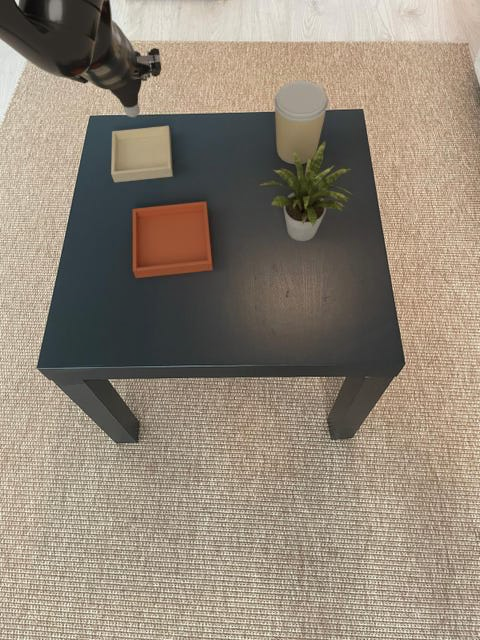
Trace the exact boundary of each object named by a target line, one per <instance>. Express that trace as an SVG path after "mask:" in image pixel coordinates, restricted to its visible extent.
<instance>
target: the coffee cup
mask: <svg viewBox="0 0 480 640" xmlns="http://www.w3.org/2000/svg"><path fill="white" fill-rule="evenodd" d="M273 99H274V100H273V103H274V104H273V105H274V114H275V115H274V118H275V119H274V120H275V141H276V152H277V155H278V158H280V159H281V160H282V161H283V162H285V163H288V164H289V165H290V164H292V165H295V161H294V155H293V152H292V149H293V150H294V152H295V153H296V154H297V155H298V157H299V159H300V161H301V164H302V165H303V164H304V165H305V164H307V163H308V160H309V158H310V156H311V160H313V158H314V156H315V153H316V152H317V150H318V148H319V144H320V138H321V134H322V130H323V125H324V121H325V117H326V112H327V109H328V106H329V98H328V95H327V92H326V91H325V89H324V88H323V87H322V86H321V85H319V84H318V83H316V82H313V81H310V80H305V79H303V80H302V79H298V80H293V81H290V82H289V81H288V82H287V83H285V84H283V85H282V86H281V87H280V88H279V89H278V90H277V92H276V94H275V96H274V98H273Z"/></svg>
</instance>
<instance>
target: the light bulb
mask: <svg viewBox="0 0 480 640" xmlns="http://www.w3.org/2000/svg"><path fill="white" fill-rule="evenodd" d="M142 82H143V81H142V80H141V78H140V79H134V80H133V79H130V80H129V81H128V82H127V83H126V84H125V85H124V86H122V87H120V88H118V89H113V90H109V91H110V93H111V94H112V95H114V96H115V97H116V98H117V99H118V100H119V102H120V104H121V105H122V108H123V111H124V113H125V115H126V116H127V117H130V118H136V117H137V116H139V114H140V105H139V94H140V90H141V87H142Z"/></svg>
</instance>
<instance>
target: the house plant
mask: <svg viewBox="0 0 480 640" xmlns="http://www.w3.org/2000/svg"><path fill="white" fill-rule="evenodd" d="M326 141H327V140H324V141H323V142H322V143H321V144H320V145H319V146H318V147H317V151H316V153H315V156H314V157H313V159H311V156H310V158H309V160H308V162H306V167H305V171H304V168H303V164H301V161H300V159H299V157H298V155H297V154H296V153H295V152H294V150H293V149H292V152H293V155H294V161H295V164H294V165H295V168H296V173H297V176H296V175H295V174H294V173H293V172H292V171H291V170H288V169H286V168H280V169H273V171H274V172H275V173H276V174H277V175H279V176H280V178H281V179H282V180H284V181H285V182H286V184H288V186H289V187H290V189H289V188H288V187H287V186H286V185H284V184H283V183H281V182H279V181H275V180H271V181H268V182H263V183H262V184H259V185H258V187H259V186H268V185H278V186H281V187H283V188H285V189H287V190H288V191H289V192H291V191H292V192H291V193H290V194H289V195H287V196H284V195H276V196H275V198H274V199H273V200H272V202H271V204H270V206H273V207H274V206H275V207H277V208H283V213H284V218H285V225H286V231H287V234H288V235H289V237H290V238H292V239H293V240H294V241H298V242H306V241H310V240H311V239H313V238H314V237H315V236H316V234H317V232H318V229H319V227H320V225H321V223H322V220H323V218H324V216H325V214H326V212H327V209H331V210H339V211H343V209H342V208H346V206H345V205H343V203H341V202H340V201H345V202H346V203H348V199H349V200H350V198H349V197H348V196H346V195H344V194H343V193H342V192H341V191H335V190H329V189H332V188H336V189H337V188H338V189H340V190H343V191H344V192H346V193H347V194H349V195H352V196H353V197H358V196H356V195H355V194H353V193H352V192H350V191H349V190H347V188H344V187H342V186H340V185H337V184H331V183H333V182H335V181H336V180H337V179H338V178H339V177H340V176H341V175H343V174H345V173H347V172H349V171H351V170H352V168H350V167H349V168H341V169H337V170H336V171H335V170H334V172H332V173H330V174H329V175H327V174H328V173H329V172H331V170H333V168H334V167H335V165H336V164H335V165H331V166H330V167H328V168H326V169H325V170H322V171H320V169H321V167H322V164H323V161H324V151H325V148H326V143H327V142H326ZM326 175H327V176H326ZM324 198H332V199H326V200H325V199H324ZM334 199H335V200H334ZM337 200H338V201H337Z"/></svg>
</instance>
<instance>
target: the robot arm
mask: <svg viewBox="0 0 480 640" xmlns="http://www.w3.org/2000/svg"><path fill="white" fill-rule="evenodd" d="M112 13H113V12H112V5H111V0H18V3H17V1H16V0H0V40H1V41H2V42H4V43H5V44H6V45H8V46H9V47H10V48H11V49H13V50H14V51H15V52H17V53H18V54H19V55H20V56H22V57H23V58H24V59H26V60H27V61H28V62H30V63H31V64H32V65H34V66H36V67H37V68H39V69H40V70H41V71H43V72H45V73H47V74H49V75H52V76H54V77H58V78H63V79H69V80H72V81H74V82H78V83H81V84H87V83H89V82H90V83H91V84H92V85H94V86H95V87H97V88H100V89H103V90H107V91H110V90H113V89H118V88H120V87H122V86H124V85H125V84H126V83H127V82H128V81H129V80H130V79H133V80H134V79H140V78H141V80H142V82H148V79H149V78H151V77H155V78H156V77H158V76H161V75H160V74H161V72H162V62H161V55H160V48H157V47H153V48H151V49H150V51H147V52H146V55H142V54H141V53H140V51H137V50H135V49H134V46H133V45H132V43H131V41H130V40H129V38H128V37H127V35H125V32H123V30H122V29H121V28H120V26H119V25H118V23H116V22H115V21H114V20H113V14H112Z"/></svg>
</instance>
